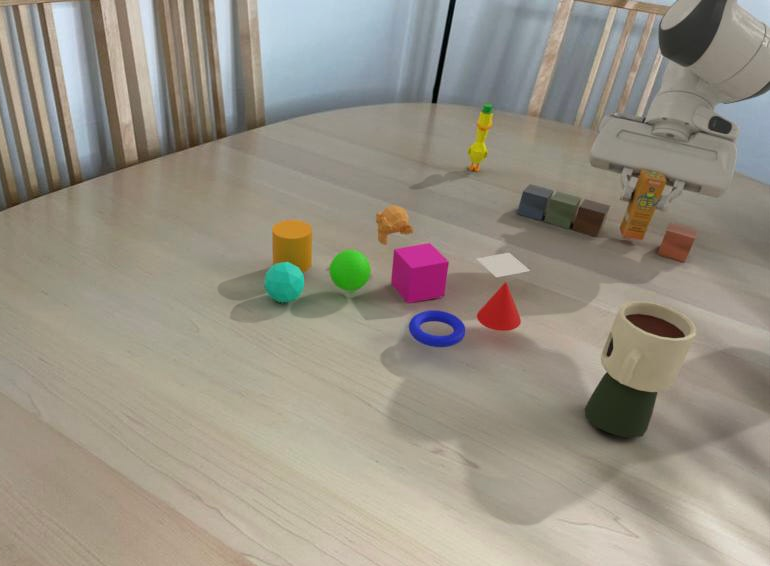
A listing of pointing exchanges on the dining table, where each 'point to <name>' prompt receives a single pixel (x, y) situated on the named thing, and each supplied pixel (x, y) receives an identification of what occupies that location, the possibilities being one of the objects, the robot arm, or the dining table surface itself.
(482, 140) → the toy figure
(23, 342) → the dining table surface
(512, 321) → the shape set
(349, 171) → the dining table surface
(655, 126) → the robot arm
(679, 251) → the block row
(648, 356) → the character mug
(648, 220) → the supplement box
